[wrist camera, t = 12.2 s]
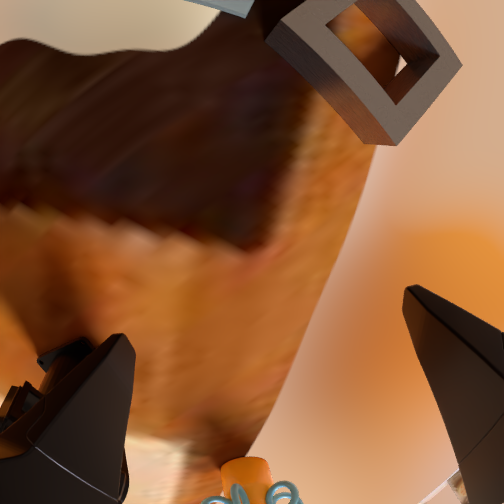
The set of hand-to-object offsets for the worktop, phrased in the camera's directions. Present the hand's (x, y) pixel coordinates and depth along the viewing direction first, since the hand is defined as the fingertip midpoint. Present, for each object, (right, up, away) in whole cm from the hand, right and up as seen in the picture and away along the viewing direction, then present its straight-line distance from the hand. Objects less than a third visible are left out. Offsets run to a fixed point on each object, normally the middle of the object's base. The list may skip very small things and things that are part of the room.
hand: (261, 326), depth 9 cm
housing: (+8, +17, +8) cm, 20 cm away
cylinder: (-1, -24, +22) cm, 33 cm away
